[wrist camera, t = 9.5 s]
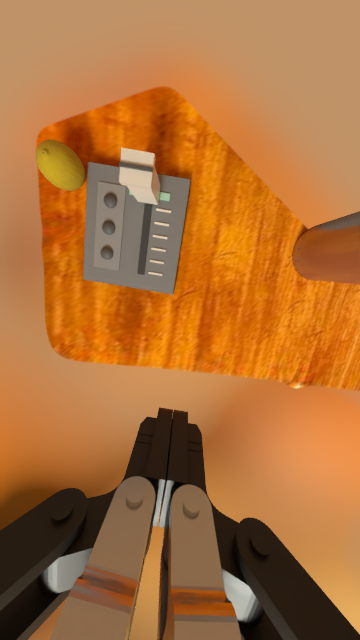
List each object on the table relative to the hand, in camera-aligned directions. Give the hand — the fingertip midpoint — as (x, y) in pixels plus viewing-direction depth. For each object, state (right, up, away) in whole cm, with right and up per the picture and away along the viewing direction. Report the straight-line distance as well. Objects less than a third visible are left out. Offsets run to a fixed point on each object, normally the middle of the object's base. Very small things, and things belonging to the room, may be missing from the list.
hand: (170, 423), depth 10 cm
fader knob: (-4, +25, +21) cm, 33 cm away
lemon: (-17, +29, +23) cm, 40 cm away
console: (-7, +20, +25) cm, 33 cm away
